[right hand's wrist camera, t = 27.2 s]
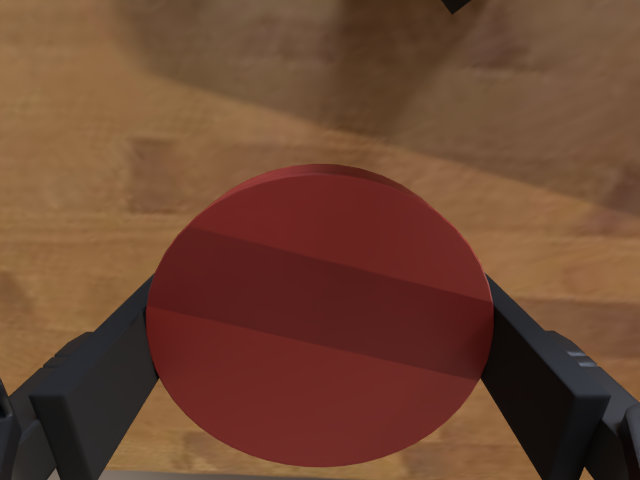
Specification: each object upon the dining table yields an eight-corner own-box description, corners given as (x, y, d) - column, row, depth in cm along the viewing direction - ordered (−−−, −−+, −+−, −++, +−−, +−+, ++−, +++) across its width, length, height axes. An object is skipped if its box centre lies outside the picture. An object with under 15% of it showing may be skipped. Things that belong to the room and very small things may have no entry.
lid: (507, 182, 11) (543, 195, 9) (432, 433, 14) (448, 477, 13) (161, 146, 10) (129, 152, 8) (177, 413, 14) (156, 456, 12)
